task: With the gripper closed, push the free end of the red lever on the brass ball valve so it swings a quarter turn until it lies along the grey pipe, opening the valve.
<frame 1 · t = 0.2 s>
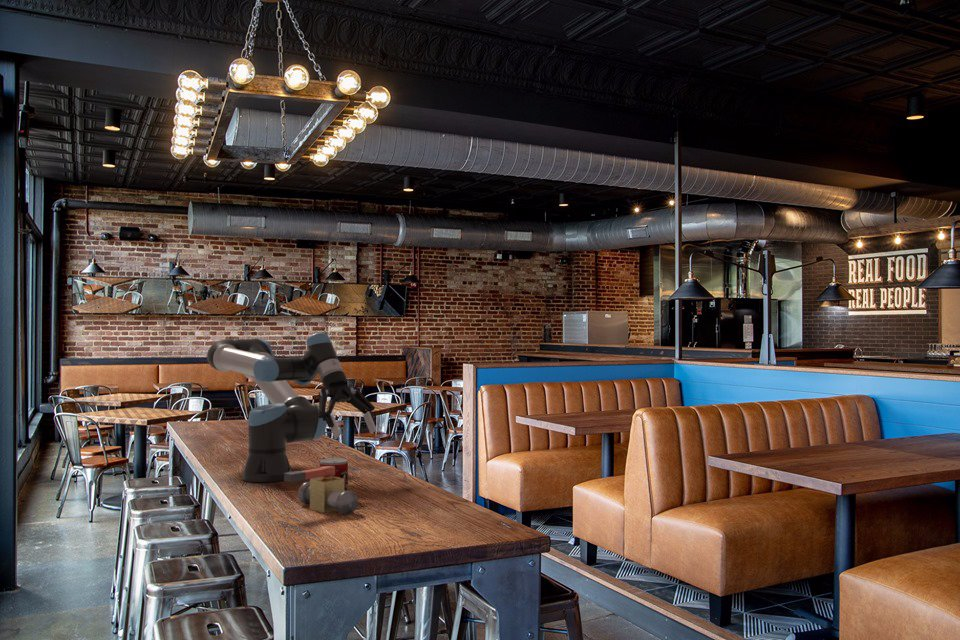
hand: (356, 433, 229), 16 cm above the table, fingers open, 13 cm apart
lever: (311, 473, 193), point 10 cm above the table, hinge at 0.0°
canned food: (333, 500, 208), on the table
valve pipe: (327, 509, 196), on the table
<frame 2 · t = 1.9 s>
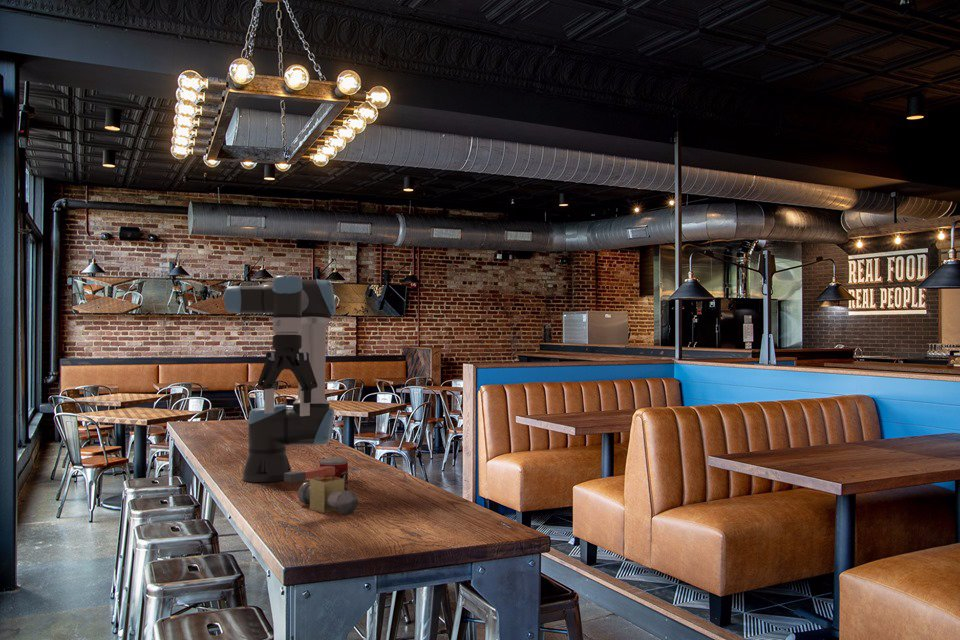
hand: (286, 414, 196), 25 cm above the table, fingers open, 13 cm apart
nothing on the table moved.
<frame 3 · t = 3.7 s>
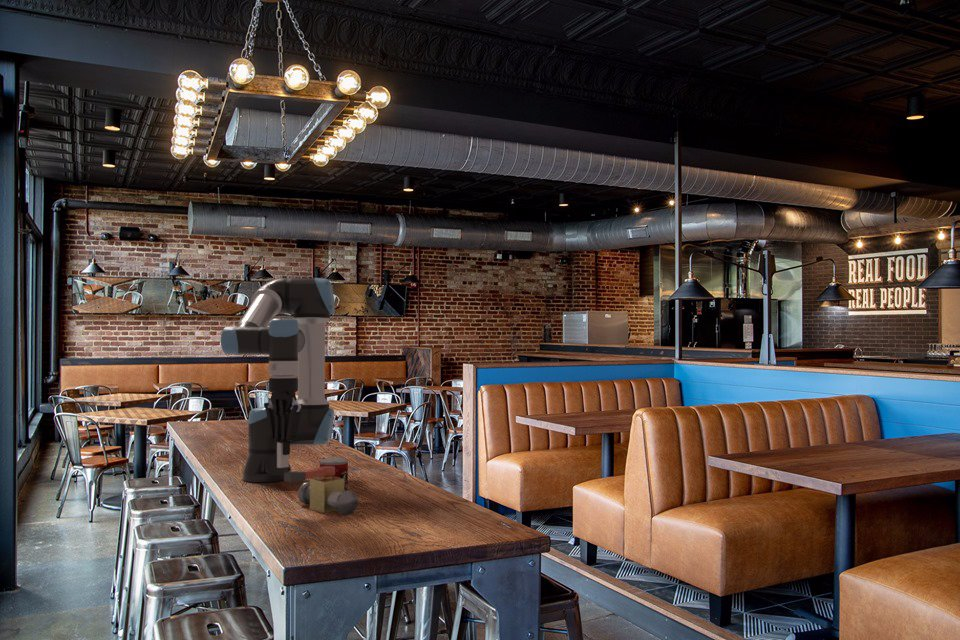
hand: (282, 467, 195), 12 cm above the table, fingers closed
nothing on the table moved.
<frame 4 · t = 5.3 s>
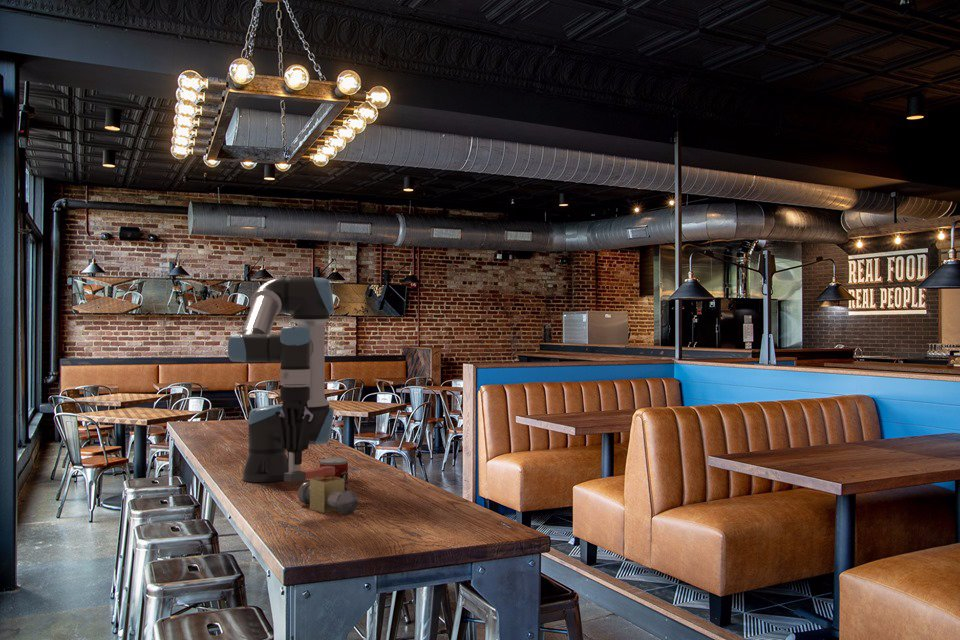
hand: (294, 476, 192), 9 cm above the table, fingers closed
lever: (311, 473, 193), point 10 cm above the table, hinge at 0.0°, touching gripper
everything else where it was.
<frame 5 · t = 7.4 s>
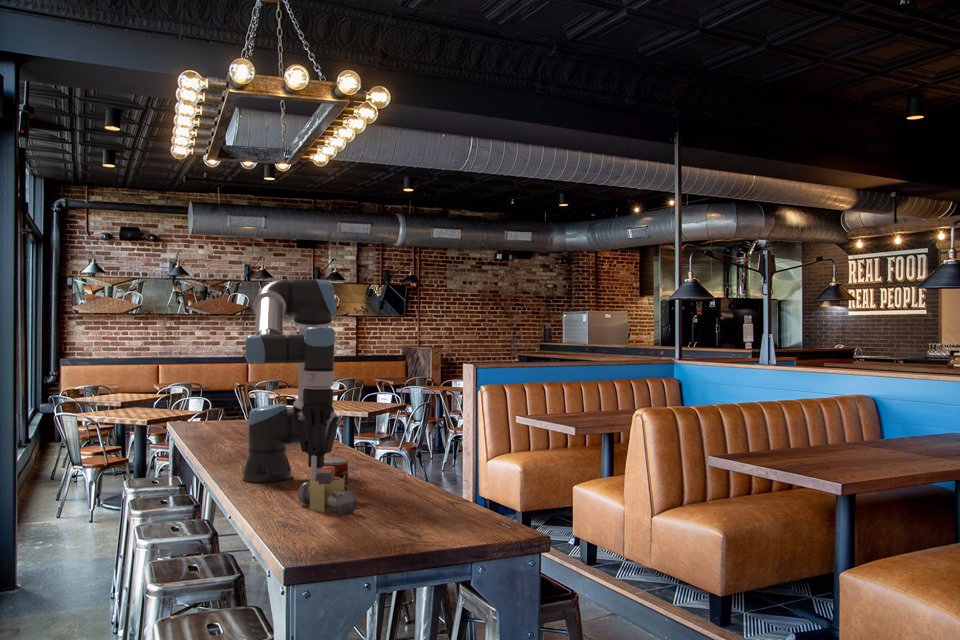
hand: (315, 480, 188), 9 cm above the table, fingers closed
lever: (326, 474, 192), point 10 cm above the table, hinge at 51.5°, touching gripper
everything else where it was.
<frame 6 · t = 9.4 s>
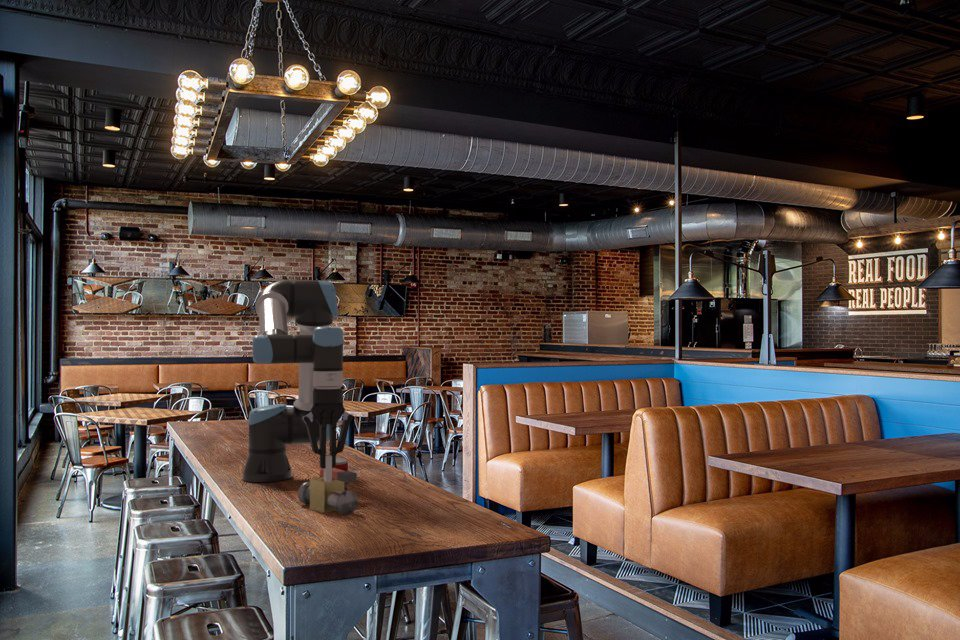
hand: (327, 480, 188), 9 cm above the table, fingers closed
lever: (337, 473, 193), point 10 cm above the table, hinge at 83.6°
everything else where it was.
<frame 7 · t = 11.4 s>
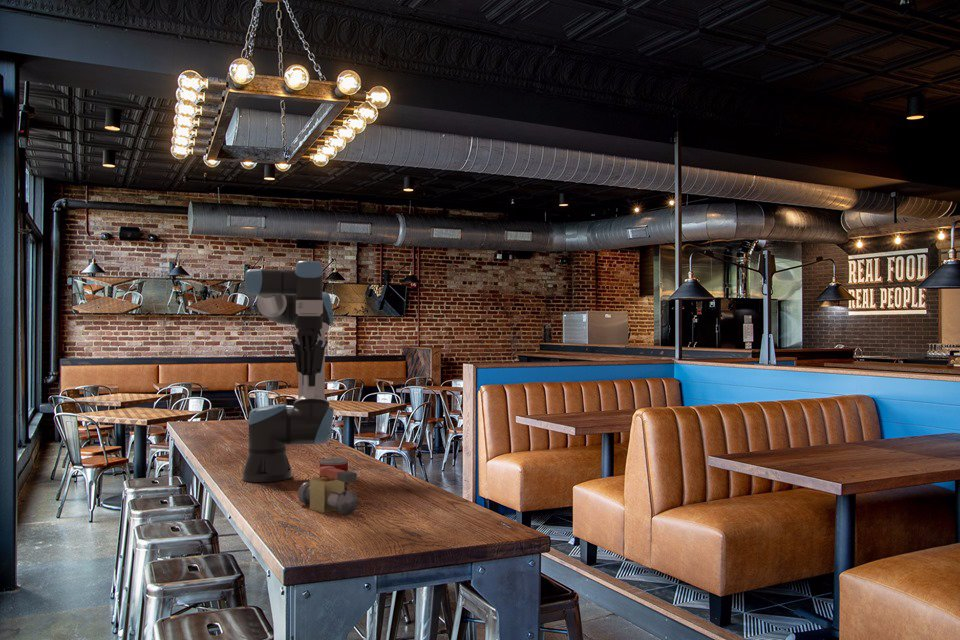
hand: (308, 397, 212), 28 cm above the table, fingers closed
nothing on the table moved.
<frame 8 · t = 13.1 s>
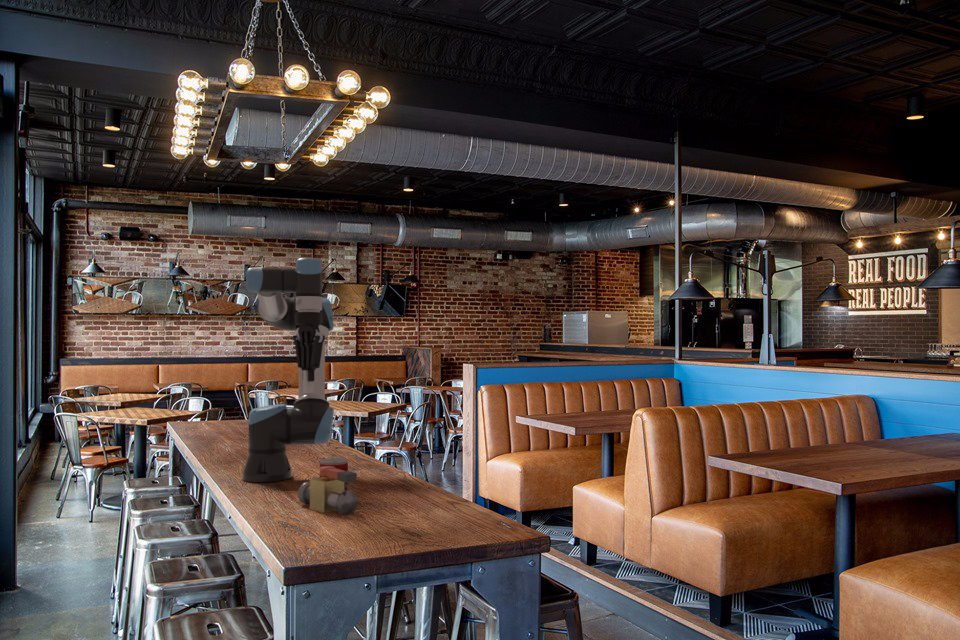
hand: (308, 392, 215), 29 cm above the table, fingers closed
nothing on the table moved.
at the end: lever at +84° (first picture: +0°); the gripper is holding nothing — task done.
